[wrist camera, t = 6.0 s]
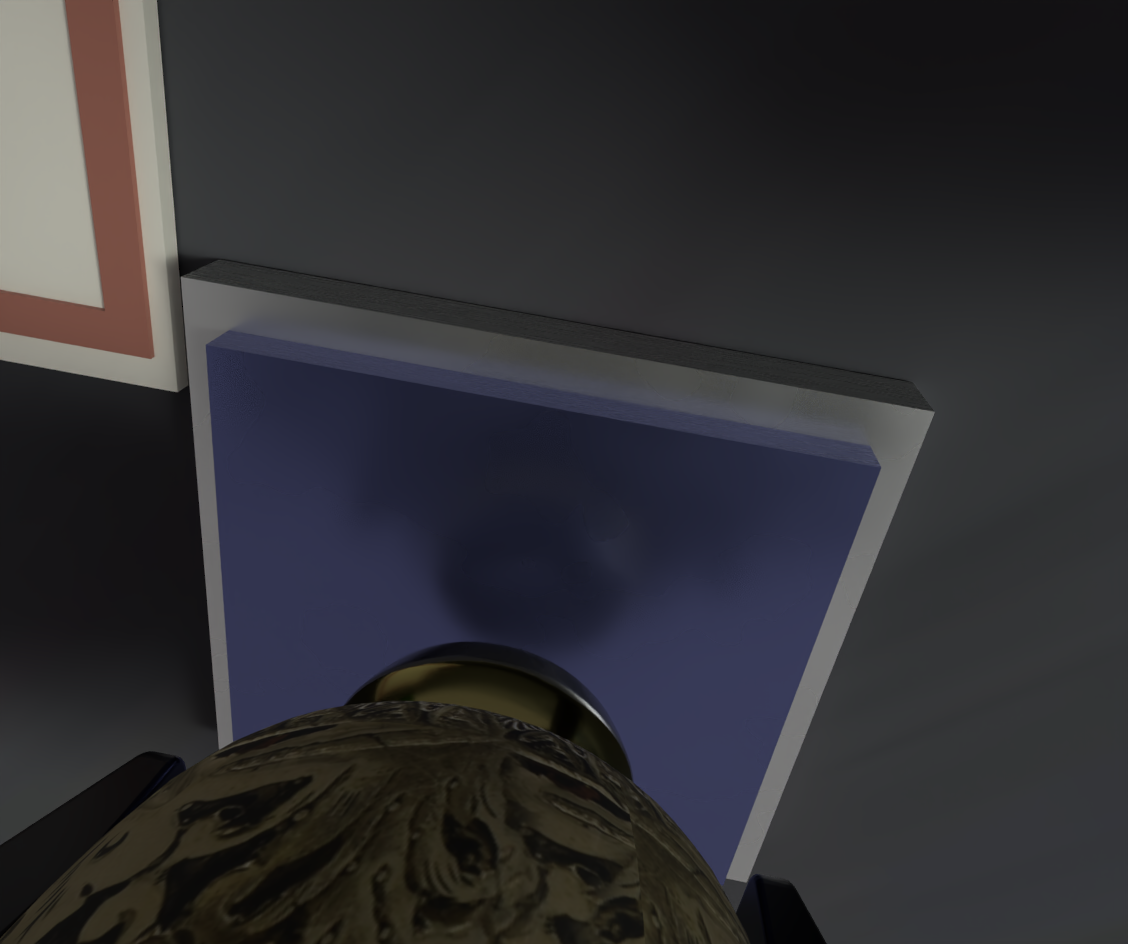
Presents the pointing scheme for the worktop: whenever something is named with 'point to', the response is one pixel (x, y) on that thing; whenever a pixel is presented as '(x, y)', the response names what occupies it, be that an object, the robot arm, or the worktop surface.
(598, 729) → the ornate bronze cup
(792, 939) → the robot arm
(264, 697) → the ink pad
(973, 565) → the worktop surface
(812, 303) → the worktop surface
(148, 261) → the marked card
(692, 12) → the worktop surface
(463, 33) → the worktop surface
